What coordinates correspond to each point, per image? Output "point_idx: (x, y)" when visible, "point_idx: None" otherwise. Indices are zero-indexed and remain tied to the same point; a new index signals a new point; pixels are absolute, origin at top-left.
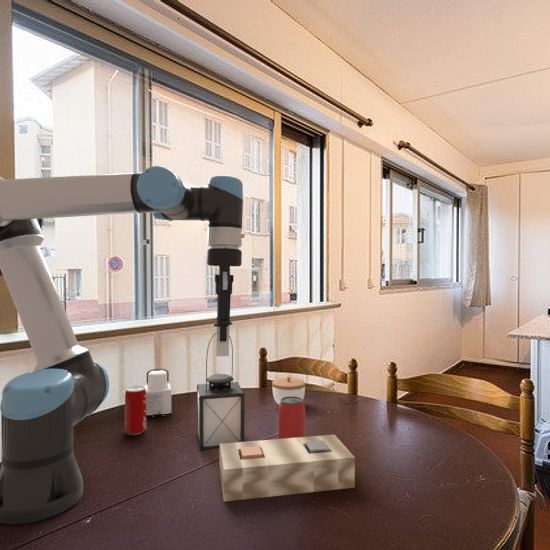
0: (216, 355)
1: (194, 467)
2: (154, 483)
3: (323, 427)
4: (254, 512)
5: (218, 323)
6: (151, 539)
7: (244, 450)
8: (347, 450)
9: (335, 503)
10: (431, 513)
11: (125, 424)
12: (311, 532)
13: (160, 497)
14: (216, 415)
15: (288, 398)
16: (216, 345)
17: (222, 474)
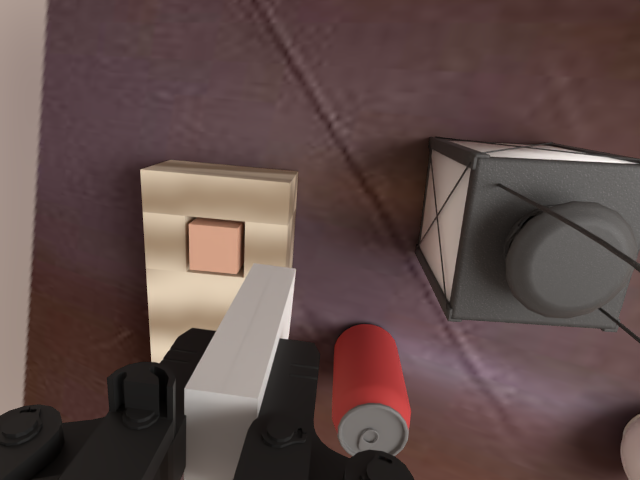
0: (252, 266)
1: (336, 114)
2: (279, 7)
3: (456, 449)
4: (126, 208)
5: (6, 414)
6: (64, 4)
7: (217, 234)
8: None
9: (135, 342)
10: None
11: None
12: (61, 279)
13: (211, 23)
14: (447, 203)
15: (399, 430)
16: (240, 294)
17: (196, 168)
